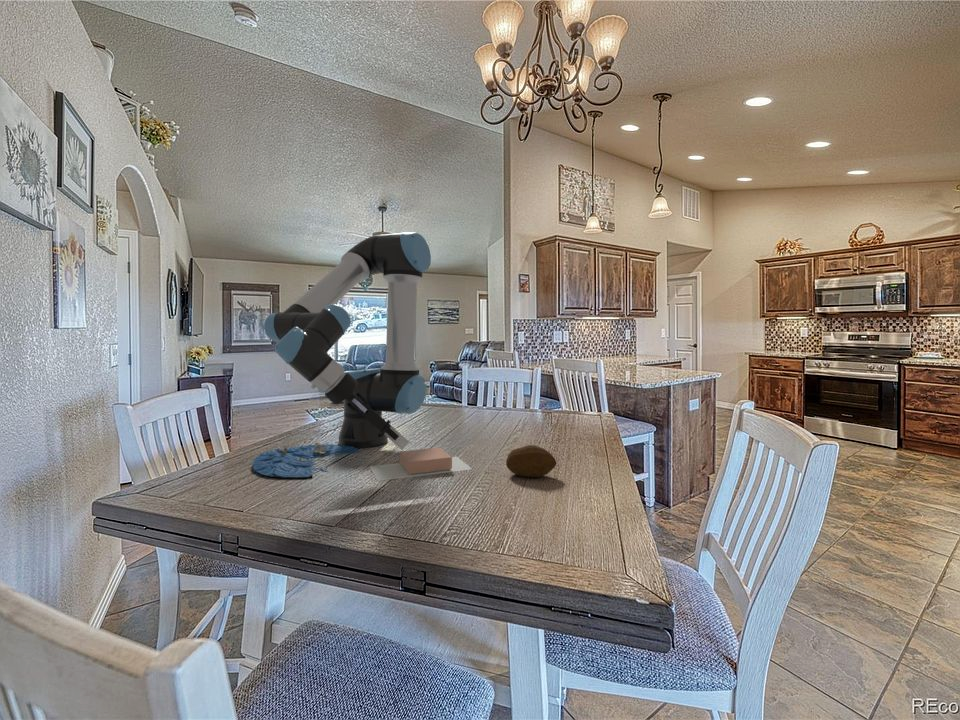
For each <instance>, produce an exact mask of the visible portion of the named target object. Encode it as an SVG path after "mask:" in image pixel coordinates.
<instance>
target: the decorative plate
mask: <svg viewBox="0 0 960 720" xmlns="http://www.w3.org/2000/svg"><path fill="white" fill-rule="evenodd" d="M360 453H363V452H360V451H359V450H358V448H354V447H352V446H345V445H344V446H343V445H340V444H338V445H337V444H333V443H332V444H331V443H326V444H325V443H324V444H321V443H320V444H319V443H318V442H315V444H313V445H312V444H308V445H300V446H293V447H282V446H277V449H273V450H272V449H271V450H267V451H266V452H261V453H260V454H259V455H258V456H256V457H255V458H254V459H253V460H252V468H253V471H254V472H255V473H259V474H260V475H264V476H265V477H270V478H274V477H276V478H286V479H287V478H292V479H293V478H297V479H298V478H310V477H312V476H313V474H315V472H314V471H318V470H320V472H323V473H329V470H328V469H327V468H325V469H324V467H323V466H322V467H320V468H319V467H318V468H317V467H314V466H318V465H320V462H326V460H325V459H321V457H328V456H331V457H332V456H340V455H341V456H342V455H352V454H360ZM315 459H318V461H319V463H318V462H314V461H316V460H315Z"/></svg>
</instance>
